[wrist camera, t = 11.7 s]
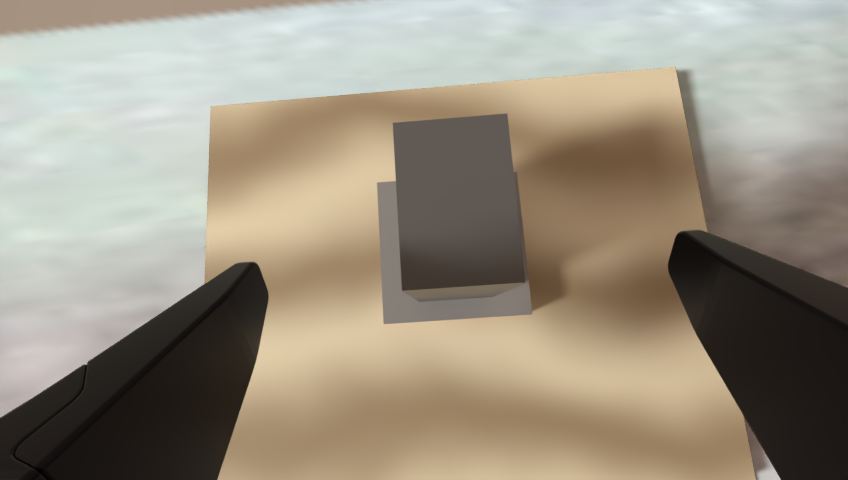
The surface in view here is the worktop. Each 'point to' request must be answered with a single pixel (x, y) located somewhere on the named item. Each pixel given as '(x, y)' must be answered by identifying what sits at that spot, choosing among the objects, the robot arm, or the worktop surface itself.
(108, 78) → the worktop surface
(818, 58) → the worktop surface
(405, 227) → the grey stepped block
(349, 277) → the birch board
